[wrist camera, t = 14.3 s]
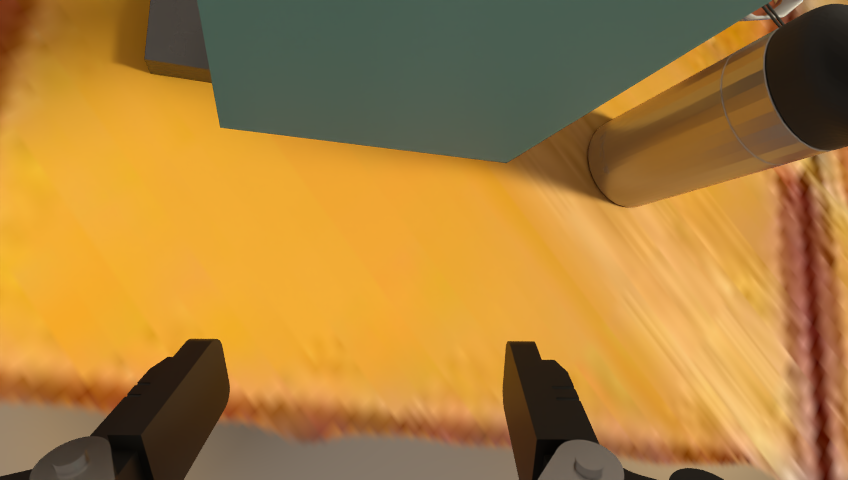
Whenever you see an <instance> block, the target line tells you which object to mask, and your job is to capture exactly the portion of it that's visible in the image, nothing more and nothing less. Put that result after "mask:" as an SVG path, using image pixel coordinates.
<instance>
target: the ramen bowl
mask: <svg viewBox="0 0 848 480" xmlns="http://www.w3.org/2000/svg"><path fill="white" fill-rule="evenodd" d="M801 2H803V0H772V1H771V2H769V3H767V4H766V5H764V6H762V7H761V8H759V9H757V10H756V11H754V12H753V13H751V14H749V15H748V16H746V17H744V18H743V19H741V20H739V21H751V20H766V19H772V20H773V21H774V23H775V24H776V25H777V26H778V27H779V28H780V27H781V25H782V26H783V25H785V24H784V23H783V22H782V20H781V19H780V17H784V16H786V15H787V14H788V13H789V12H791V11H792V10H793V9H794V8H795V7H797V6H798V5H799V4H800V3H801ZM775 18H776V19H777V20H778V21H779V22H780V24H781V25H780V24H779V23H778V21H777V20H776V19H775Z"/></svg>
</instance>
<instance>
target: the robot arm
mask: <svg viewBox="0 0 848 480" xmlns="http://www.w3.org/2000/svg"><path fill="white" fill-rule="evenodd" d="M847 146H848V5H843V4H829V5H824V6H821V7H818V8H815V9H813V10H811V11H809V12H807V13H804V14H803V15H801V16H799V17H797V18H795V19H794V20H792V21H790V22H788V23H786V24H785V25H783V26H781V27H780V28H778V29H776V30H774V31H772V32H771V33H769V34H767V35H765V36H763V37H762V38H760V39H758V40H756V41H754V42H752V43H751V44H749V45H747V46H745V47H743V48H742V49H740V50H738V51H736V52H735V53H733V54H731V55H729V56H727V57H726V58H724V59H722V60H720V61H718V62H716V63H715V64H713V65H711V66H709V67H707V68H706V69H704V70H702V71H700V72H698V73H696V74H695V75H693V76H691V77H689V78H687V79H686V80H684V81H682V82H680V83H678V84H676V85H675V86H673V87H671V88H669V89H667V90H665V91H664V92H662V93H660V94H658V95H656V96H655V97H653V98H651V99H649V100H647V101H645V102H644V103H642V104H640V105H638V106H636V107H634V108H632V109H631V110H629V111H627V112H625V113H623V114H622V115H620V116H618V117H616V118H614V119H613V120H611V121H609V122H607V123H605V124H604V125H602V126H601V127H599V128H598V129H597V131H596V132H595V133H594V135H593V137H592V139H591V141H590V145H589V150H588V160H589V167H590V170H591V173H592V177H593V179H594V181H595V183H596V184H597V186H598V188H599V189H600V190H601V191H602V193H603V194H604V195H605V196H606V197H607V198H609V199H610V200H611V201H613V202H614V203H616V204H618V205H621V206H624V207H638V206H642V205H645V204H649V203H652V202H656V201H659V200H663V199H666V198H670V197H674V196H677V195H680V194H684V193H687V192H691V191H694V190H698V189H701V188H705V187H708V186H711V185H715V184H718V183H722V182H725V181H729V180H732V179H736V178H739V177H743V176H746V175H749V174H753V173H756V172H760V171H763V170H767V169H770V168H774V167H777V166H781V165H784V164H787V163H790V162H794V161H797V160H801V159H804V158H807V157H811V156H814V155H818V154H821V153H825V152H828V151H831V150H836V149H840V148H843V147H847ZM229 392H230V385H229V379H228V374H227V368H226V363H225V358H224V353H223V348H222V344H221V342H220V340H218V339H189V340H187V341H186V342H185V344H184V345H183V346H182V347H181V348H180V349H179V351H178V352H177V353H176V354H175V355H174V357H167V358H166V359H164V360H163V361H161V362H160V363H158V364H157V365H155V366H153V367H152V368H150V369H149V370H148V371H147V373H146V374H145V375H144V376H143V377H142V378H141V379H140V380H139V382H138V384H137V385H135V386H134V387H133V388H132V389H131V391H130V392H129V393H128V395H127V397H124V398H123V399H122V401H121V402H120V403H119V404H118V405H117V406H116V407H115V408H114V410H113V411H112V412H111V413H110V414H109V415H108V416H107V417H106V419H105V420H104V421H103V422H102V423H101V424H100V425H99V426H98V428H97V429H96V430H95V431H94V432H93V433H92V434H91V435H90V436H88V437H82V438H78V439H75V440H72V441H69V442H67V443H64V444H62V445H60V446H58V447H57V448H55V449H53V450H52V451H50V452H49V453H48V454H46V455H45V456H44V457H43V458H42V459H40V460H39V462H38V463H37V464H36V465H35V466H34V468H33V469H31V470H27V471H23V472H18V473H14V474H9V475H5V476H1V477H0V480H184V478H185V476H186V474H187V473H188V471H189V469H190V468H191V466H192V464H193V462H194V461H195V459H196V457H197V456H198V454H199V452H200V450H201V449H202V447H203V445H204V443H205V442H206V440H207V438H208V437H209V435H210V433H211V431H212V430H213V428H214V426H215V425H216V423H217V421H218V419H219V418H220V416H221V414H222V412H223V411H224V409H225V407H226V405H227V402H228V398H229ZM503 405H504V411H505V416H506V421H507V425H508V430H509V435H510V439H511V444H512V449H513V453H514V458H515V463H516V467H517V472H518V476H519V480H656V479H652V478H648V477H645V476H641V475H638V474H635V473H632V472H630V471H628V470H626V469H624V468H623V467H622V465H621V463H620V461H619V460H618V459H617V457H616V456H615V455H614V454H613V453H612V452H611V451H609V450H608V449H606V448H605V447H603V446H601V445H600V444H599V442H598V440H597V438H596V435H595V433H594V431H593V429H592V426H591V424H590V422H589V420H588V417H587V415H586V413H585V411H584V408H583V406H582V404H581V401H579V397H578V395H577V392H576V390H575V389H574V386H573V383H572V381H571V379H570V377H569V374H568V372H567V371H566V370H565V369H564V368H563V367H561V366H560V365H559V364H558V363H557V362H556V361H555V360H542V359H541V357H540V354H539V351H538V349H537V346H536V344H535V342H529V341H508V342H507V344H506V353H505V365H504V378H503ZM669 480H723V479H722V478H720V477H718V476H716V475H714V474H712V473H709V472H706V471H704V470H700V469H693V468H685V469H680V470H677V471H675V472H674V473H673V474H672V475H671V476H670V478H669Z"/></svg>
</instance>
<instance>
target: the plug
mask: <svg viewBox="0 0 848 480" xmlns="http://www.w3.org/2000/svg"><path fill="white" fill-rule="evenodd" d="M771 1H772V0H197V3H198V8H199V14H200V19H201V25H202V30H203V36H204V41H205V47H206V52H207V58H208V63H209V69H210V74H211V80H212V85H213V91H214V96H215V101H216V107H217V112H218V118H219V123H220V128H229V129H237V130H245V131H253V132H261V133H269V134H277V135H285V136H293V137H301V138H309V139H317V140H325V141H333V142H342V143H350V144H358V145H366V146H374V147H382V148H390V149H398V150H406V151H414V152H422V153H430V154H438V155H447V156H455V157H463V158H471V159H479V160H487V161H495V162H503V163H507V162H509V161H511V160H512V159H514V158H515V157H517V156H519V155H520V154H522V153H524V152H525V151H527V150H529V149H530V148H532V147H533V146H535V145H537V144H538V143H540V142H542V141H543V140H545V139H547V138H548V137H550V136H551V135H553V134H555V133H556V132H558V131H560V130H561V129H563V128H565V127H566V126H568V125H569V124H571V123H573V122H574V121H576V120H578V119H579V118H581V117H582V116H584V115H586V114H587V113H589V112H591V111H592V110H594V109H596V108H597V107H599V106H600V105H602V104H604V103H605V102H607V101H609V100H610V99H612V98H614V97H615V96H617V95H618V94H620V93H622V92H623V91H625V90H627V89H628V88H630V87H632V86H633V85H635V84H636V83H638V82H640V81H641V80H643V79H645V78H646V77H648V76H650V75H651V74H653V73H654V72H656V71H658V70H659V69H661V68H663V67H664V66H666V65H668V64H669V63H671V62H672V61H674V60H676V59H677V58H679V57H681V56H682V55H684V54H685V53H687V52H689V51H690V50H692V49H694V48H695V47H697V46H699V45H700V44H702V43H703V42H705V41H707V40H708V39H710V38H712V37H713V36H715V35H717V34H718V33H720V32H721V31H723V30H725V29H726V28H728V27H730V26H731V25H733V24H735V23H736V22H738V21H739V20H741V19H743V18H744V17H746V16H748V15H749V14H751V13H753V12H754V11H756V10H757V9H759V8H761V7H762V6H764V5H766V4H767V3H769V2H771Z"/></svg>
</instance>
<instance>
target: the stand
mask: <svg viewBox="0 0 848 480" xmlns="http://www.w3.org/2000/svg"><path fill="white" fill-rule="evenodd" d="M145 62H146V64H147V66H148V69H149V71H150V73H151V74H158V75H164V76H171V77H177V78H184V79H190V80H197V81H203V82H210V83H212V80H211V74H210V69H209V63H208V58H207V52H206V47H205V41H204V36H203V30H202V25H201V19H200V14H199V8H198V3H197V0H151V1H150V11H149V20H148V30H147V39H146V49H145Z"/></svg>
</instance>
